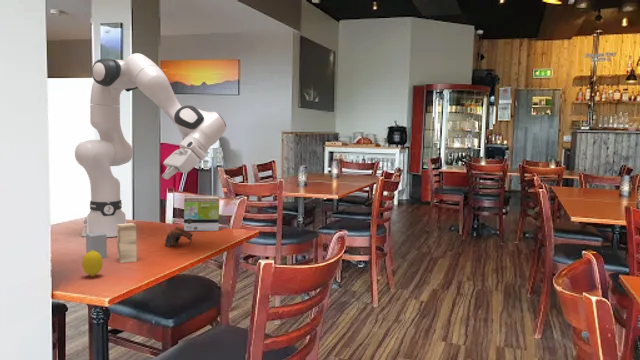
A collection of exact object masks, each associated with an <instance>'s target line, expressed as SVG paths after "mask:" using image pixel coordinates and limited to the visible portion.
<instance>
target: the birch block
mask: <svg viewBox="0 0 640 360" xmlns="http://www.w3.org/2000/svg"><path fill="white" fill-rule="evenodd" d="M116 237H117V241H116V243H117V244H116V245H117V260H118V262H119V263H120V264H123V263H132V262H133V263H134V262H137V258H138V257H137V250H138V249H137V225H136V224H135V223H133V222H132V223H131V222H129V223H126V224H117V236H116Z"/></svg>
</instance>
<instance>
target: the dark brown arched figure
mask: <svg viewBox="0 0 640 360" xmlns="http://www.w3.org/2000/svg"><path fill="white" fill-rule="evenodd" d="M193 236H194V234H193V233H191V232H190V231H185V230H184V228H183V227H182V228H181V227H179V226H175V228H173V229H171V230H170V231H169V232H168V234H167V236H166V238H165V243H164V245H165V247H167V248H171V246H172V247H176V246H177V247H178V245H179V242H180V240H181V239H182V237H184V238H186V239H188V240H189V243H188V244H189V246H192V243H193V238H192V237H193Z"/></svg>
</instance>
